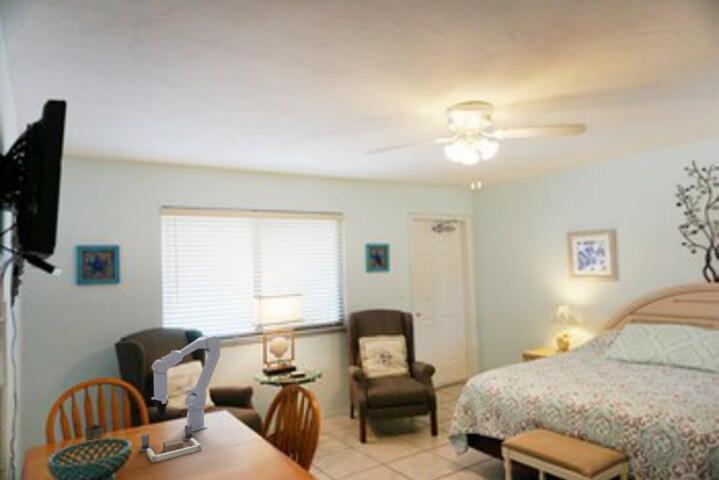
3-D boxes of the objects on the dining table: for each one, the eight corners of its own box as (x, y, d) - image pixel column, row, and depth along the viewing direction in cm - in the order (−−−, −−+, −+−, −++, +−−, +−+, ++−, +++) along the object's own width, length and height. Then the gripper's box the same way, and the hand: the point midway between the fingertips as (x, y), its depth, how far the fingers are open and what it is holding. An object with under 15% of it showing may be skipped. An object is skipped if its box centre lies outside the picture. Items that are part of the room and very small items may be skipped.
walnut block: (163, 450, 200) (163, 441, 200) (180, 446, 204) (180, 437, 204) (165, 456, 194) (165, 446, 194) (183, 451, 198) (183, 442, 198)
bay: (146, 454, 197) (146, 449, 197) (193, 442, 208) (193, 437, 208) (152, 462, 187) (152, 457, 187) (201, 450, 198) (201, 445, 198)
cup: (80, 447, 209) (80, 428, 209) (94, 441, 216) (94, 423, 216) (94, 448, 207) (93, 429, 207) (107, 442, 214) (107, 424, 214)
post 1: (138, 449, 203) (137, 435, 203) (150, 446, 205) (150, 432, 206) (140, 452, 198) (139, 438, 199) (152, 449, 201) (152, 435, 202)
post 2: (181, 439, 213) (181, 425, 213) (192, 436, 216) (192, 422, 216) (184, 442, 209) (184, 428, 209) (196, 439, 212) (195, 425, 212)
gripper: (148, 385, 221) (148, 414, 220) (154, 391, 209) (155, 422, 208) (164, 382, 225) (164, 411, 224) (171, 388, 213) (172, 418, 212)
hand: (161, 416), depth 217 cm, fingers closed
